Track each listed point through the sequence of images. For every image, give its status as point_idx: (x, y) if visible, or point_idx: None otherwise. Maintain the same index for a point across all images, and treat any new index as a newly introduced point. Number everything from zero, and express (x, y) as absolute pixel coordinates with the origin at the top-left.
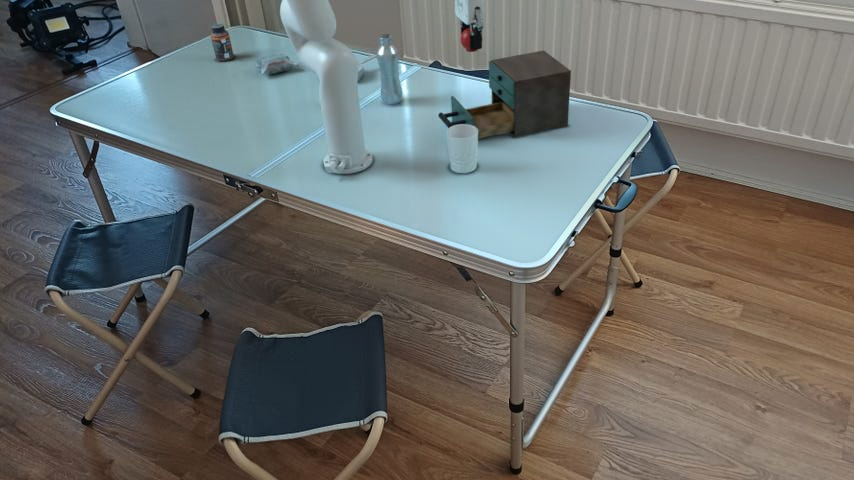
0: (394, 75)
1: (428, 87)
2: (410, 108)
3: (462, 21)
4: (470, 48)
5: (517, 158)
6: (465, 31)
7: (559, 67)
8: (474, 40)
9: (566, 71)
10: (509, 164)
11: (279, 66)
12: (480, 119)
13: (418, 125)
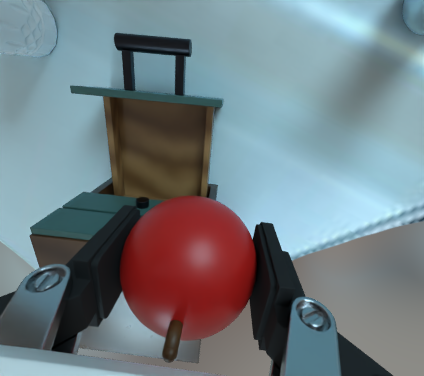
0: None
1: (417, 134)
2: (352, 38)
3: (285, 348)
4: (124, 207)
5: (44, 140)
6: (177, 271)
7: (89, 340)
8: (78, 252)
9: None
10: (26, 117)
11: None
12: (178, 146)
13: (255, 15)
